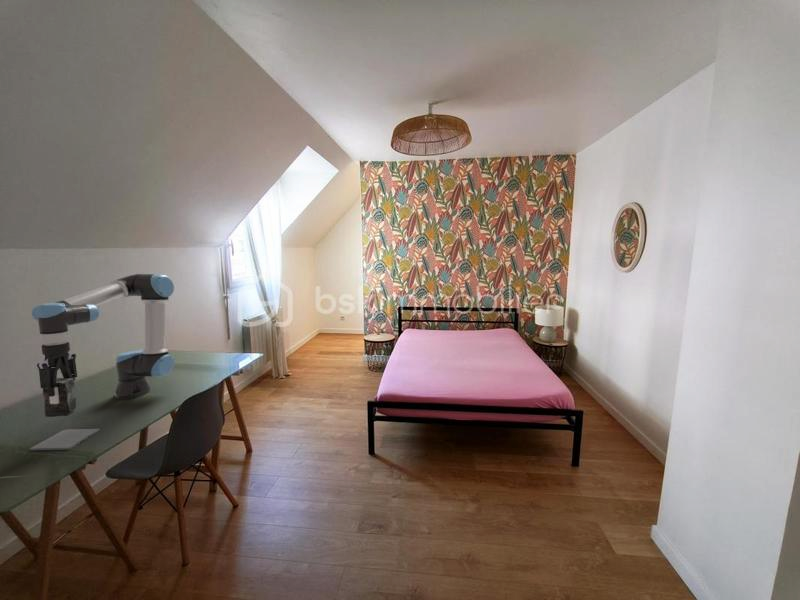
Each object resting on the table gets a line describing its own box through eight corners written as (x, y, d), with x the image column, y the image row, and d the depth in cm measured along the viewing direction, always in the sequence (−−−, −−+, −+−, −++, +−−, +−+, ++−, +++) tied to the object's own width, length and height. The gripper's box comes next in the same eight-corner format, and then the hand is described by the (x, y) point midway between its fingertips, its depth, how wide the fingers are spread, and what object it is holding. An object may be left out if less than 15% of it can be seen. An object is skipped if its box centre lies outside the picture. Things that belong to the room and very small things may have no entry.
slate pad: (64, 431, 139) (64, 429, 139) (99, 430, 140) (99, 428, 140) (30, 450, 125) (29, 448, 125) (69, 449, 126) (69, 447, 126)
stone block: (69, 417, 129) (81, 411, 134) (65, 382, 127) (77, 377, 132) (44, 417, 128) (57, 411, 133) (40, 382, 126) (53, 377, 131)
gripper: (66, 337, 136) (72, 391, 139) (19, 349, 118) (27, 410, 121) (86, 337, 137) (91, 390, 139) (42, 349, 119) (49, 410, 121)
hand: (61, 400), depth 130 cm, fingers closed on stone block, 5 cm apart
